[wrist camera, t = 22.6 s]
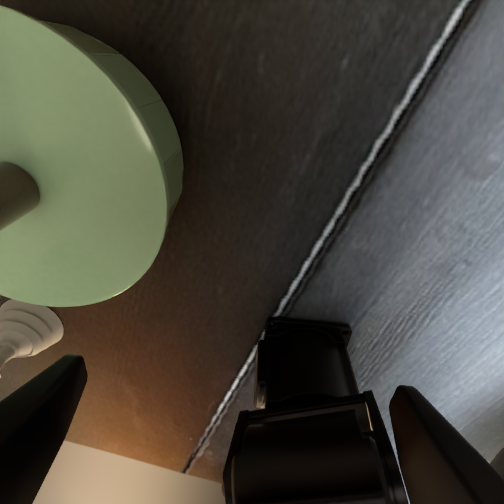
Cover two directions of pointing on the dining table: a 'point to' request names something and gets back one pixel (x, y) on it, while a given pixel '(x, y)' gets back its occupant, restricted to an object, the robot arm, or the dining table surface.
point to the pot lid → (72, 173)
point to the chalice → (26, 329)
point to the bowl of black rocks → (499, 463)
